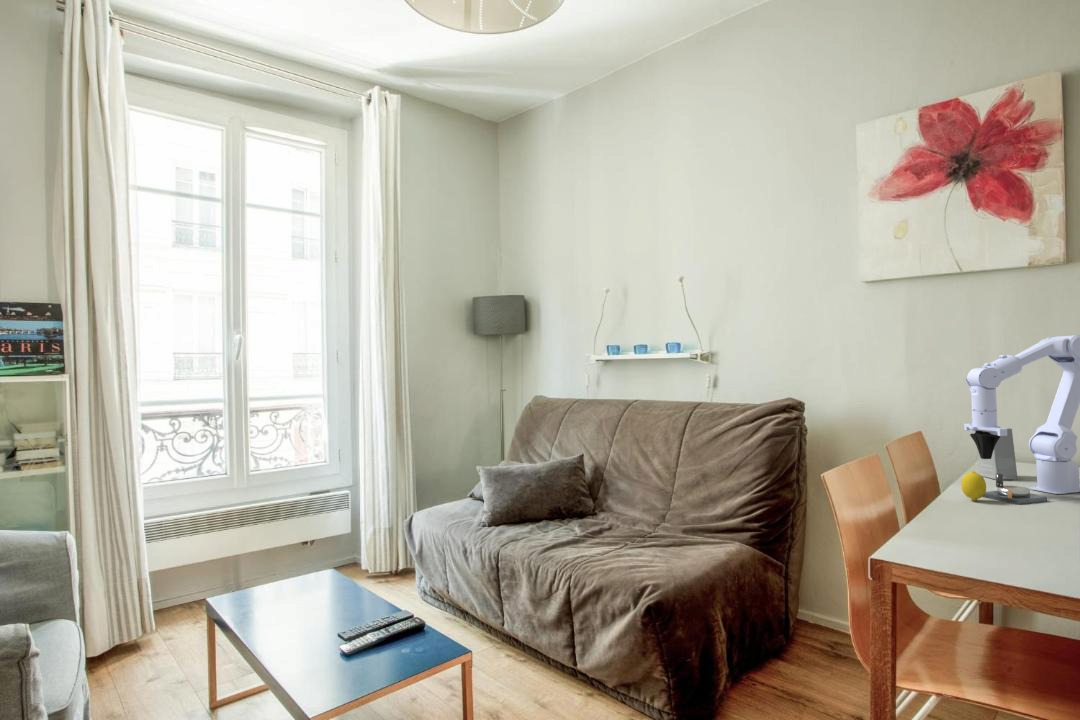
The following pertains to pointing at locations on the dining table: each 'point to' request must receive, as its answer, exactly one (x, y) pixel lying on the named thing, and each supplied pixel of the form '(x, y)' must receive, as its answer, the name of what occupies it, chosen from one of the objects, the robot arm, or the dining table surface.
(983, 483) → the lemon
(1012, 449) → the skincare box
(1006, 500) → the dial plate
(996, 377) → the robot arm
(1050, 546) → the dining table surface
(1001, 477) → the dial
